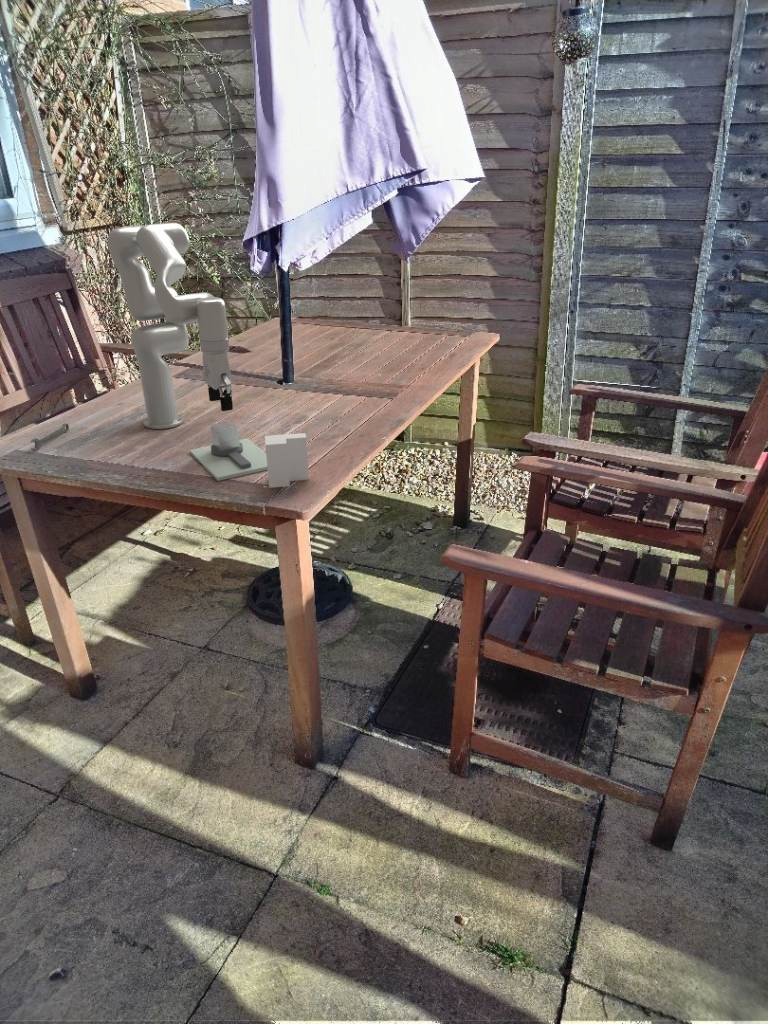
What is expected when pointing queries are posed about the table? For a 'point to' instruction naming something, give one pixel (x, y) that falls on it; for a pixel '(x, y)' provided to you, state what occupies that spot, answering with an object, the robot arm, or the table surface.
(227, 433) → the brushed aluminum cube
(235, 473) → the board
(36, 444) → the combination wrench
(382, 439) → the table surface
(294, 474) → the corner bracket
